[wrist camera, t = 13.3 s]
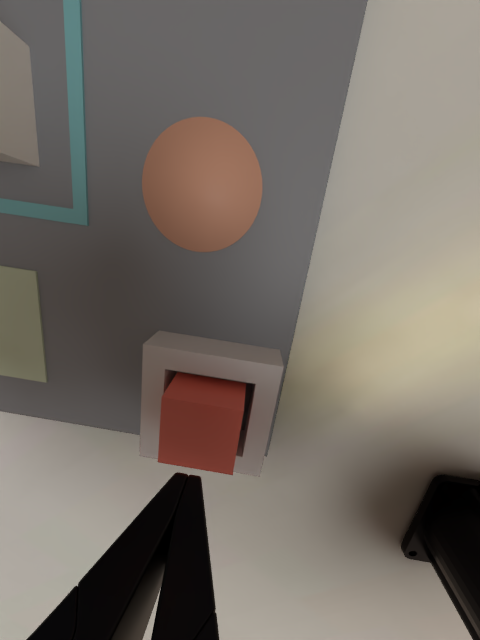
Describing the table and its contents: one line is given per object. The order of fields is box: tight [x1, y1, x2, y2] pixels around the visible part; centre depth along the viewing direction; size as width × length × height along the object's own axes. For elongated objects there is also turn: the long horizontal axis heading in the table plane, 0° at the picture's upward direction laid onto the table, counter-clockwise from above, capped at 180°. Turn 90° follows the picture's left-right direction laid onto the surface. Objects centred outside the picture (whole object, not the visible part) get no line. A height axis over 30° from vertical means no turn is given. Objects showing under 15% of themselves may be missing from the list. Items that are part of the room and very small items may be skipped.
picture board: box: [0, 0, 368, 477], centre depth 11 cm, size 22×20×3 cm
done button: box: [158, 372, 246, 475], centre depth 11 cm, size 3×3×2 cm
